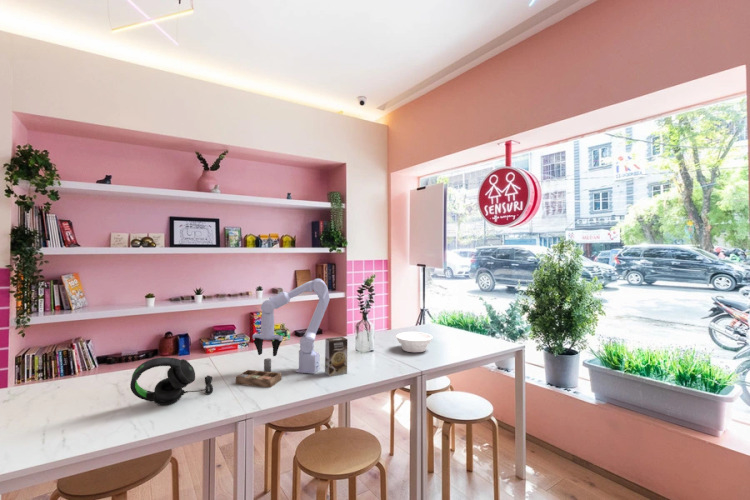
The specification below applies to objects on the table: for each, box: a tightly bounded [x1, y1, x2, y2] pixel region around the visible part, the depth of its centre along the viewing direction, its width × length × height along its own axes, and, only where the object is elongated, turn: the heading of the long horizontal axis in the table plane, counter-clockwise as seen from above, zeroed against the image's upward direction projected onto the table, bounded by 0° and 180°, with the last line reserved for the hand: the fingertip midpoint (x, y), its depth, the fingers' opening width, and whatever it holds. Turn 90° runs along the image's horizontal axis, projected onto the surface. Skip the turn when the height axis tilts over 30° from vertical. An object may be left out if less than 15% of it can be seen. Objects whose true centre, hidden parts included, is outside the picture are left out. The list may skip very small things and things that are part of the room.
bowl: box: [395, 331, 434, 353], centre depth 201 cm, size 21×21×8 cm
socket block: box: [235, 369, 282, 388], centre depth 151 cm, size 17×9×3 cm, turn 77°
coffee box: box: [324, 336, 348, 377], centre depth 162 cm, size 9×6×16 cm
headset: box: [129, 356, 214, 407], centre depth 132 cm, size 18×14×29 cm
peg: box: [263, 357, 272, 372], centre depth 161 cm, size 3×3×6 cm
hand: (267, 355), depth 161 cm, fingers open, 7 cm apart
